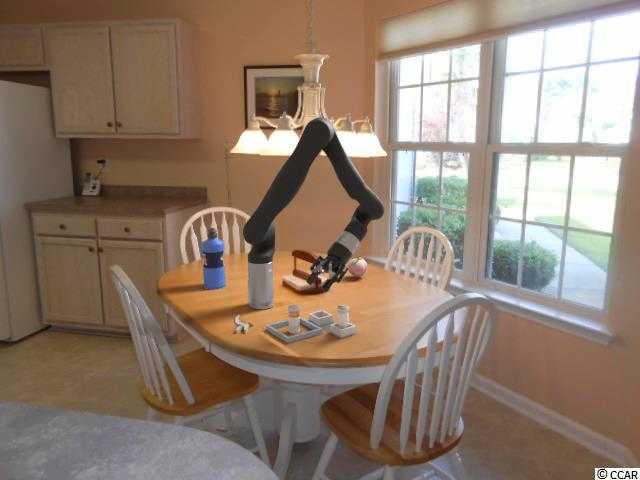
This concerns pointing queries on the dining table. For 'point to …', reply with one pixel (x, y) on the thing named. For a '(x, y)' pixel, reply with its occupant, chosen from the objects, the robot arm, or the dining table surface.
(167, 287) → the dining table surface
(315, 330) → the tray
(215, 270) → the water bottle
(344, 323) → the fuse
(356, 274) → the decorative fruit
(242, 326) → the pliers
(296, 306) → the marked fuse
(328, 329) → the fuse holder
